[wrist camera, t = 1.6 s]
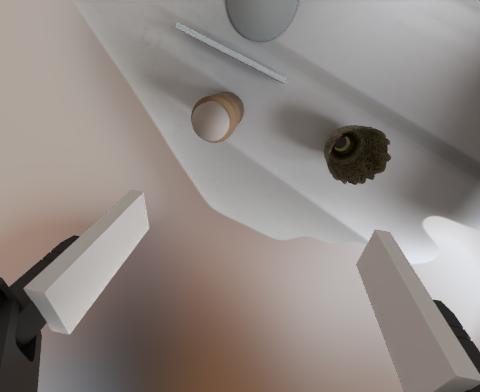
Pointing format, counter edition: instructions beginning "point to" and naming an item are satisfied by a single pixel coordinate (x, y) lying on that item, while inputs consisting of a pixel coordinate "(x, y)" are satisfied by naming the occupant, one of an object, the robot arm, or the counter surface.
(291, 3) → the coaster
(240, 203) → the counter surface
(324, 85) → the counter surface
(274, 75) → the acrylic wall
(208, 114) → the pepper mill
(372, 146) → the cup
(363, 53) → the counter surface
